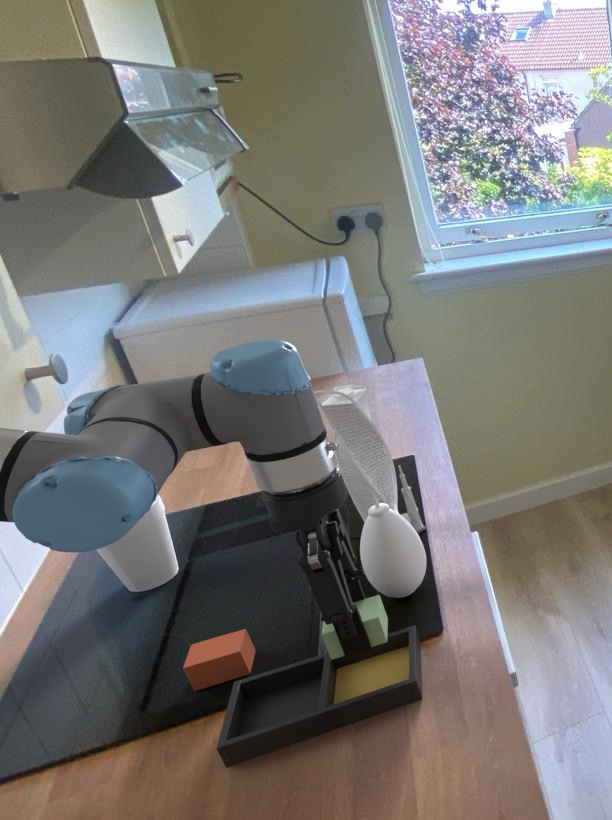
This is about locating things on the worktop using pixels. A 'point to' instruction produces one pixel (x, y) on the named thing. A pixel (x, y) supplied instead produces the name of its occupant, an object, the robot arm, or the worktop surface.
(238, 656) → the terracotta block
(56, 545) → the robot arm
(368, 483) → the skyscraper
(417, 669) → the divided sorting tray
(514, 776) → the worktop surface
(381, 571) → the white tall egg-shaped piece
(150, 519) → the foam cup
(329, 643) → the light green block
